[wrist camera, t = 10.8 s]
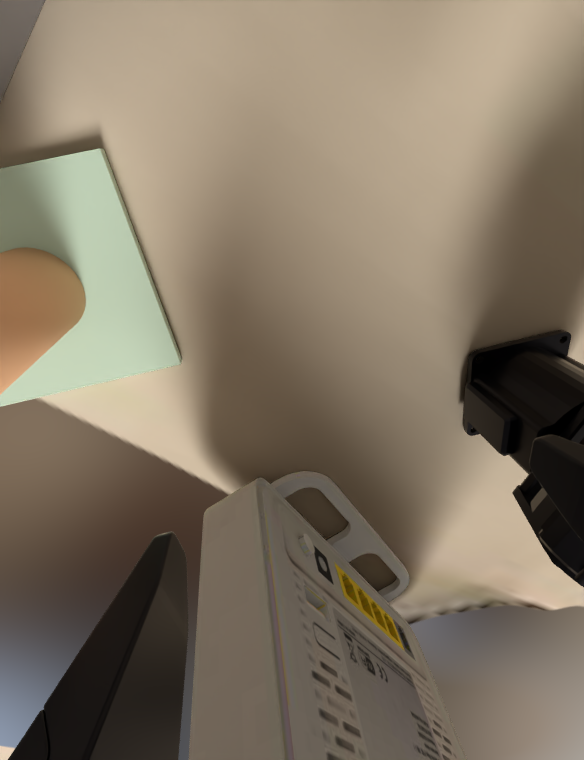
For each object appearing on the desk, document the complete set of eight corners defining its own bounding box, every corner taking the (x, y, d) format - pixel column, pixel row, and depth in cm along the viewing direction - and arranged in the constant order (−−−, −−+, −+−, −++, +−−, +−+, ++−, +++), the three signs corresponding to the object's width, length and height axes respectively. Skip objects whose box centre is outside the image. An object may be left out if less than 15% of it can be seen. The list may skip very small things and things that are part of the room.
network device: (179, 493, 25) (78, 1199, 8) (286, 426, 24) (452, 1090, 7) (351, 634, 37) (461, 1030, 20) (429, 595, 36) (617, 981, 19)
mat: (103, 149, 16) (99, 148, 15) (181, 359, 21) (180, 364, 20) (-144, 199, 15) (-157, 200, 15) (-2, 402, 20) (-8, 408, 20)
